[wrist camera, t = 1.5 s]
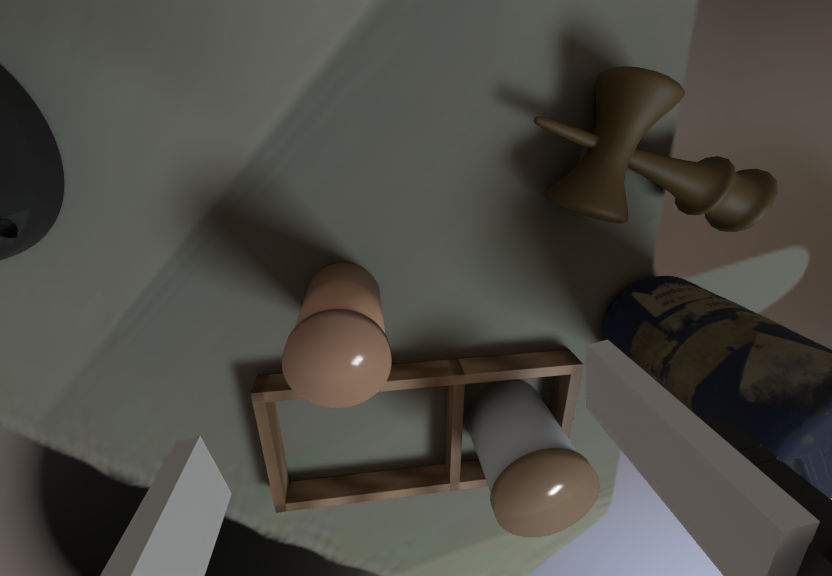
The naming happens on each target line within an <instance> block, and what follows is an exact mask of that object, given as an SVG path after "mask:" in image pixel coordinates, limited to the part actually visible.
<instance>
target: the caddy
mask: <svg viewBox="0 0 832 576" xmlns="http://www.w3.org/2000/svg"><path fill="white" fill-rule="evenodd" d="M582 368H583V363H582V362H581V361H580V360H579V359H578V358H577V357H576V356H575V355H574V354H573V353H572V352H571V351H570V350H559V351H546V352H534V353H522V354H510V355H498V356H486V357H474V358H462V359H450V360H438V361H426V362H414V363H402V364H391V370H390V374H389V376H388V379H387V381H386V382H385V384H384V385H383V387H382V388H381V389H380V390H379V391H378V392H382V391H393V390H404V389H415V388H426V387H437V386H447V409H446V443H445V464H438V465H430V466H421V467H413V468H404V469H395V470H387V471H378V472H370V473H361V474H352V475H344V476H335V477H327V478H318V479H309V480H301V481H292V482H290V481H289V476H288V471H287V465H286V460H285V454H284V449H283V444H282V438H281V433H280V427H279V422H278V417H277V411H276V406H275V401H284V400H295V399H303V398H301V397H300V396H299V395H297V394H296V393H295V392H294V391H293V390H292V389H291V387H290V386H289V385H288V383H287V381H286V379H285V377H284V374H283V373H281V374H269V375H258V376H257V379H256V381H255V384H254V386H253V389H252V391H251V393H250V394H251V398H252V403H253V408H254V412H255V417H256V422H257V426H258V431H259V436H260V441H261V445H262V450H263V455H264V459H265V464H266V469H267V473H268V478H269V483H270V487H271V492H272V497H273V501H274V506H275V511H276V513H277V512H285V511H293V510H301V509H309V508H317V507H325V506H333V505H341V504H349V503H357V502H365V501H373V500H381V499H389V498H397V497H405V496H413V495H421V494H429V493H437V492H445V491H453V490H461V489H469V488H477V487H485V486H488V483H487V481H486V478H485V475H484V472H483V469H482V467H481V464H480V461H479V460H473V461H464V462H461V447H462V427H463V407H464V388H465V384H470V383H481V382H492V381H503V380H514V379H525V378H536V377H547V376H556V377H555V383H554V389H553V395H552V402H551V408H550V412H551V413H552V415H553V416H554V418H555V419H556V421H557V422H558V424H559V425H560V427H561V428H562V430H563V431H564V433H565V434H566V436H567V437H568V439H569V436H570V431H571V426H572V420H573V415H574V410H575V405H576V399H577V394H578V389H579V383H580V378H581V373H582Z"/></svg>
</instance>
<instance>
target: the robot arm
mask: <svg viewBox="0 0 832 576" xmlns="http://www.w3.org/2000/svg"><path fill="white" fill-rule="evenodd" d="M63 195H64V172H63V165H62V160H61V156H60V153H59V149H58V146H57V144H56V141H55V138H54V136H53V134H52V132H51V130H50V128H49V126H48V124H47V122H46V120H45V118H44V117H43V115H42V113H41V112H40V110H39V109H38V107H37V106H36V104H35V103H34V102H33V100H32V99H31V98H30V96H29V95H28V94H27V92H26V91H25V90H24V89H23V88H22V87H21V85H20V84H19V83H18V82H17V81H16V80H15V79H14V78H13V77H12V76H11V75H10V74H9V73H8V72H7V71H6V70H5V69H4V68H3V67H2V66H1V65H0V260H3V259H6V258H8V257H11V256H14V255H16V254H19V253H21V252H23V251H25V250H27V249H29V248H30V247H32V246H33V245H35V244H36V243H37V242H39V241H40V240H41V239H42V238H43V237H44V236H45V235H46V234H47V233H48V231H49V230H50V229H51V227H52V226H53V224H54V222H55V221H56V219H57V217H58V214H59V212H60V209H61V206H62V201H63ZM586 407H587V409H588V410H589V411H590V412H591V413H592V415H593V416H594V417H595V418H596V420H597V421H598V422H599V423H600V424H601V426H602V427H603V428H604V429H605V431H606V432H607V433H608V434H609V436H610V437H611V438H612V439H613V440H614V442H615V443H616V444H617V445H618V447H619V448H620V449H621V450H622V451H623V453H624V454H625V455H626V456H627V457H628V459H629V460H630V461H631V462H632V463H633V465H634V466H635V467H636V468H637V470H638V471H639V472H640V473H641V475H642V476H643V477H644V478H645V480H646V481H647V482H648V483H649V485H650V486H651V487H652V488H653V489H654V490H655V492H656V493H657V494H658V496H659V497H660V498H661V499H662V501H663V502H664V503H665V504H666V506H667V507H668V508H669V509H670V510H671V512H672V513H673V514H674V515H675V517H676V518H677V519H678V520H679V521H680V523H681V524H682V525H683V526H684V528H685V529H686V530H687V531H688V533H689V534H690V535H691V536H692V537H693V539H694V540H695V541H696V542H697V544H698V545H699V546H700V547H701V549H702V550H703V551H704V552H705V553H706V555H707V556H708V557H709V558H710V560H711V561H712V562H713V563H714V564H715V566H716V567H717V568H718V569H719V571H721V573H722V574H723V575H724V576H832V500H831V499H830V498H828V497H827V496H826V495H824V494H823V493H822V492H821V491H819V490H818V489H817V488H816V487H814V486H813V485H812V484H811V483H809V482H808V481H807V480H806V479H804V478H803V477H802V476H800V475H799V474H798V473H797V472H795V471H794V470H793V469H792V468H790V467H789V466H788V465H787V464H785V463H784V462H783V461H782V462H781V461H779V459H778V457H776V456H775V455H774V454H773V453H771V452H770V451H769V450H768V449H766V448H763V447H762V446H761V444H760V443H759V442H757V441H756V440H755V439H754V438H752V437H751V436H750V435H749V434H747V433H746V432H745V431H744V430H742V429H741V428H739V427H737V426H735V425H733V424H731V423H729V422H727V421H725V420H723V419H721V418H719V417H714V418H710V419H706V420H701V419H700V418H699V417H697V416H696V415H695V414H694V413H693V412H692V411H690V410H689V409H688V408H687V407H686V406H685V405H683V404H682V403H681V402H680V401H679V400H678V399H676V398H675V397H674V396H673V395H672V394H671V393H669V392H668V391H667V390H666V389H665V388H664V387H662V386H661V385H660V384H659V383H658V382H657V381H655V380H654V379H653V378H652V377H651V376H650V375H648V374H647V373H646V372H645V371H644V370H643V369H641V368H640V367H639V366H638V365H637V364H636V363H634V362H633V361H632V360H631V359H630V358H629V357H627V356H626V355H625V354H624V353H623V352H622V351H620V350H619V349H618V348H617V347H616V346H615V345H613V344H612V343H611V342H610V341H609V340H604V341H600V342H596V343H592V344H587V362H586ZM230 497H231V492H230V490H229V488H228V486H227V484H226V483H225V481H224V479H223V477H222V475H221V473H220V472H219V470H218V468H217V466H216V464H215V462H214V460H213V459H212V457H211V455H210V453H209V451H208V449H207V448H206V446H205V444H204V442H203V440H202V438H201V437H200V436H197V437H193V438H188V439H184V440H180V441H176V442H175V444H174V446H173V447H172V449H171V451H170V453H169V455H168V456H167V458H166V460H165V462H164V464H163V465H162V467H161V469H160V471H159V472H158V474H157V476H156V478H155V480H154V481H153V483H152V485H151V487H150V488H149V490H148V492H147V494H146V496H145V497H144V499H143V501H142V503H141V504H140V506H139V508H138V510H137V512H136V513H135V515H134V517H133V519H132V521H131V522H130V524H129V526H128V528H127V529H126V531H125V533H124V535H123V536H122V538H121V540H120V542H119V544H118V545H117V547H116V549H115V551H114V553H113V554H112V556H111V558H110V560H109V561H108V563H107V565H106V567H105V569H104V570H103V572H102V574H100V575H96V576H204V575H205V572H206V569H207V566H208V563H209V560H210V557H211V554H212V551H213V548H214V545H215V542H216V539H217V536H218V533H219V530H220V527H221V524H222V521H223V518H224V515H225V512H226V509H227V506H228V503H229V500H230Z"/></svg>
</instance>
